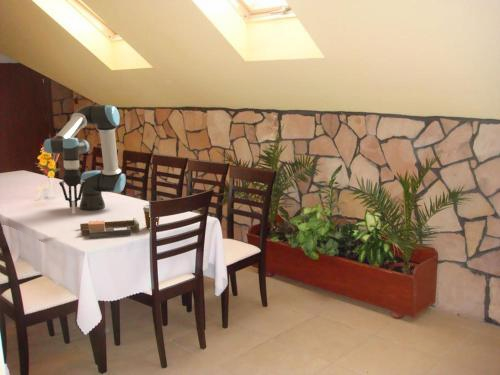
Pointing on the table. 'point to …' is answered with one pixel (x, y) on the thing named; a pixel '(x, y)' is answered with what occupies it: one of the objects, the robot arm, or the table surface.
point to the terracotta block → (96, 226)
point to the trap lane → (111, 229)
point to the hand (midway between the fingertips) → (73, 213)
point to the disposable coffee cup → (147, 219)
